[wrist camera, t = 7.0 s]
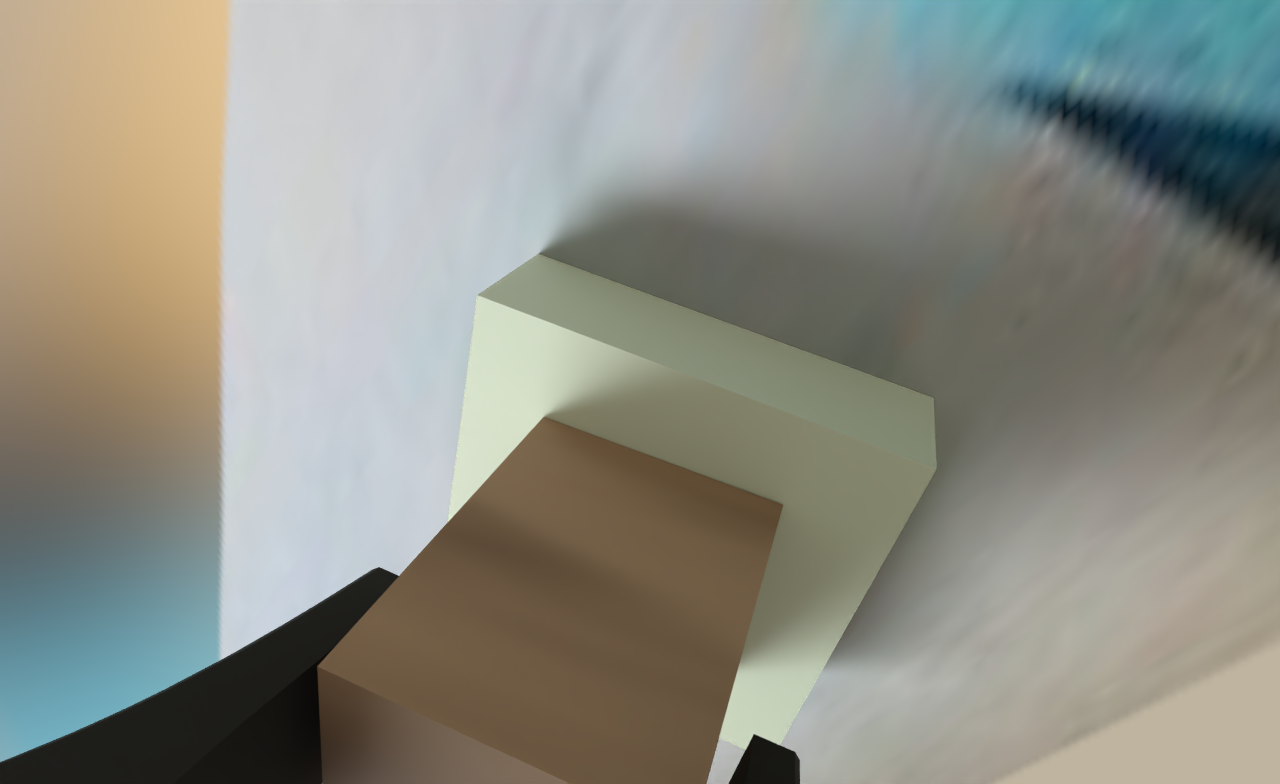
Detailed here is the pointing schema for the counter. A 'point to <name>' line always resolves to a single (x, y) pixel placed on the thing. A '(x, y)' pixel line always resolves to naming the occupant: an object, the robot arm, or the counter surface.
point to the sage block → (712, 446)
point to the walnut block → (555, 628)
